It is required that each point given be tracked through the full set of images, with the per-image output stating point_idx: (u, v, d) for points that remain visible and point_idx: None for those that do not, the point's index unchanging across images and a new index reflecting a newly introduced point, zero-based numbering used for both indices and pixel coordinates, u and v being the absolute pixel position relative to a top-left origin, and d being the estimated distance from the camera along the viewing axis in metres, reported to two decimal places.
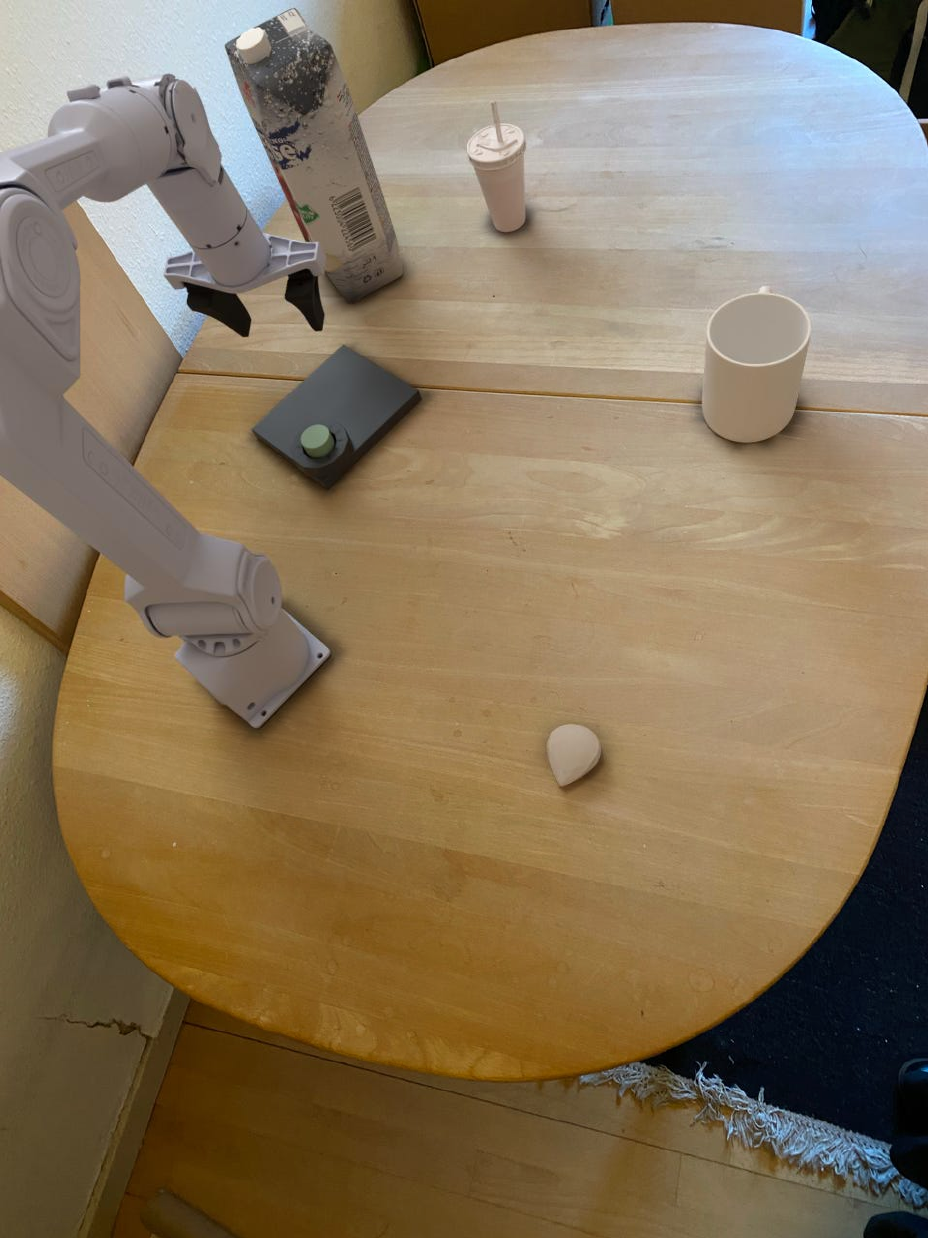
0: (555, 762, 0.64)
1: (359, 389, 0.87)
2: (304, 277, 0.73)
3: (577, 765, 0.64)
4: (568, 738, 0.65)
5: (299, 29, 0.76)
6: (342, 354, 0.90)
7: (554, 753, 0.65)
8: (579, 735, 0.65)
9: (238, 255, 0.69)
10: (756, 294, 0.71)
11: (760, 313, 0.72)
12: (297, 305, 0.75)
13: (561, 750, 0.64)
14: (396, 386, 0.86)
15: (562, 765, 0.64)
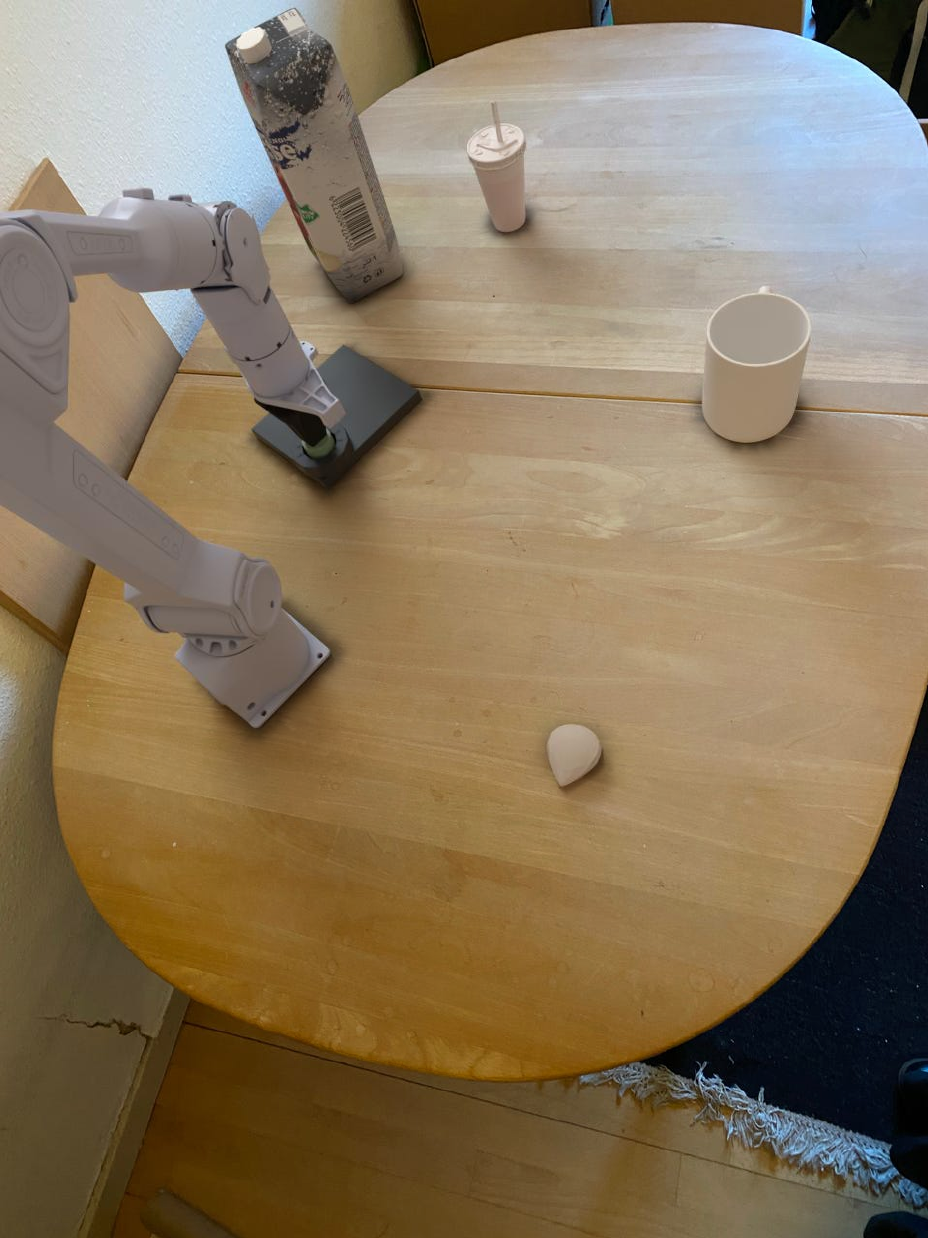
0: (555, 762, 0.64)
1: (359, 389, 0.87)
2: None
3: (577, 765, 0.64)
4: (568, 738, 0.65)
5: (299, 29, 0.76)
6: (342, 354, 0.90)
7: (554, 753, 0.65)
8: (579, 735, 0.65)
9: (258, 374, 0.71)
10: (756, 294, 0.71)
11: (760, 313, 0.72)
12: None
13: (561, 750, 0.64)
14: (396, 386, 0.86)
15: (562, 765, 0.64)
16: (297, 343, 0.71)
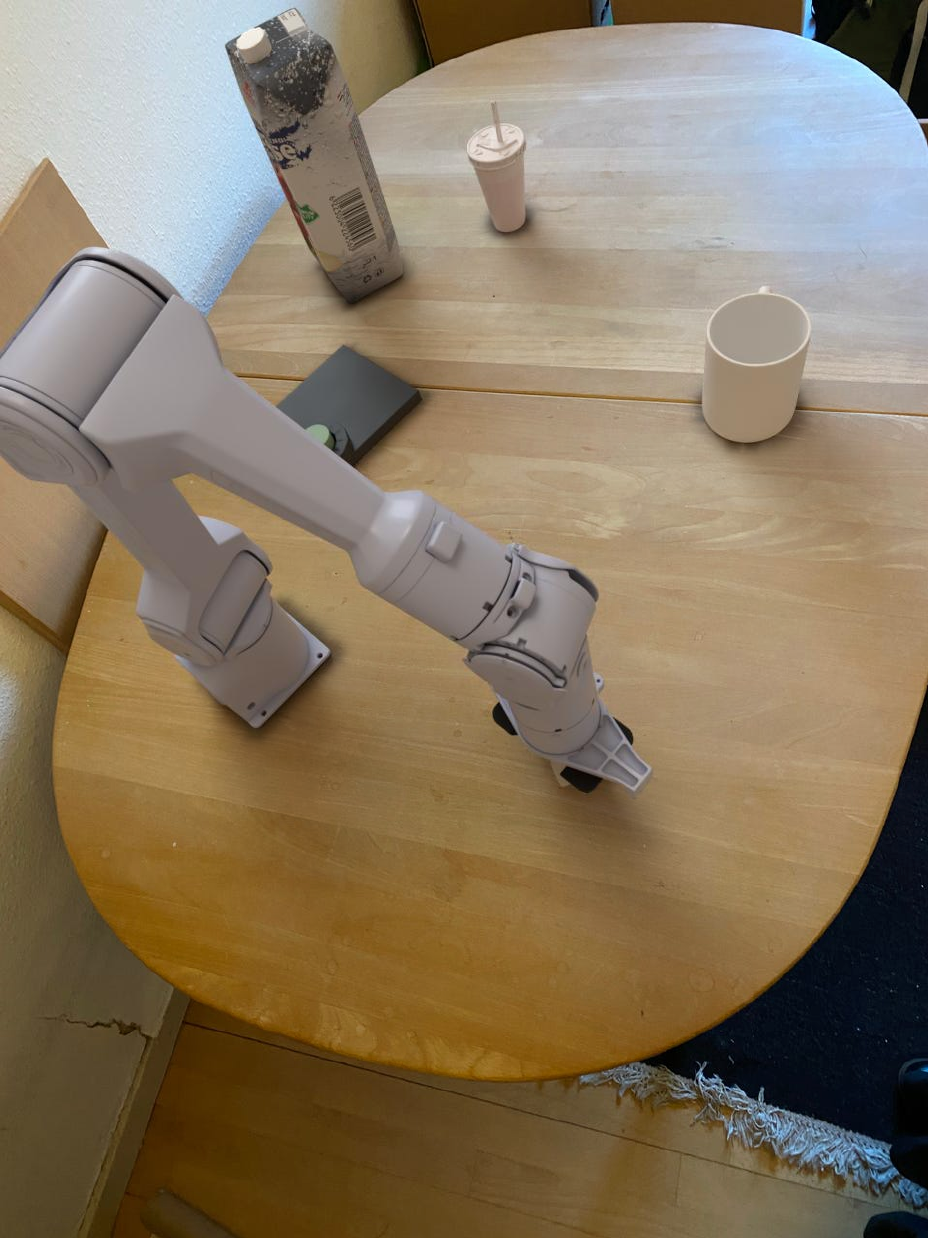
0: (556, 763, 0.64)
1: (359, 389, 0.87)
2: None
3: None
4: None
5: (299, 29, 0.76)
6: (342, 354, 0.90)
7: None
8: None
9: (550, 741, 0.53)
10: (756, 294, 0.71)
11: (760, 313, 0.72)
12: None
13: None
14: (396, 386, 0.86)
15: (563, 766, 0.64)
16: None
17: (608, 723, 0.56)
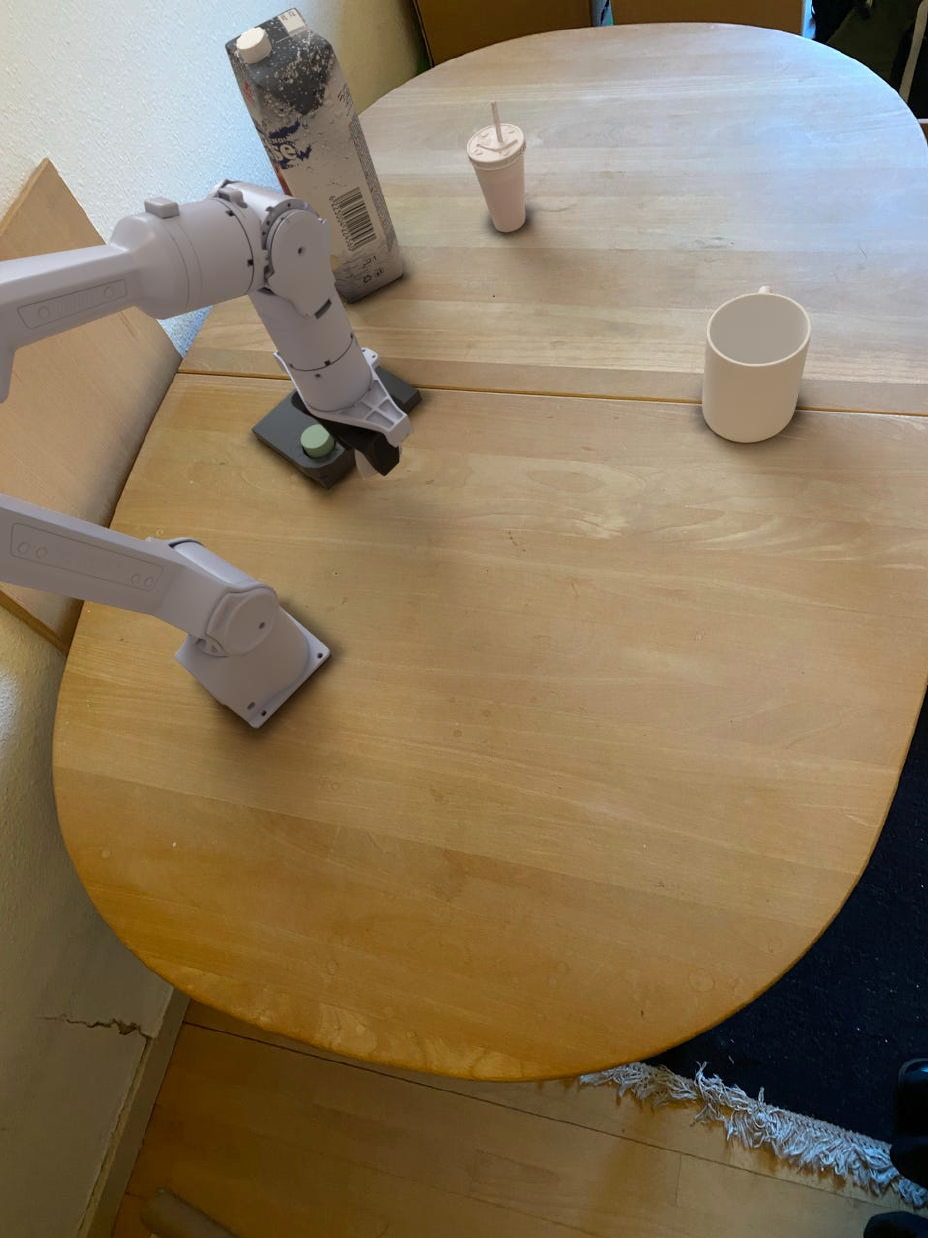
0: (359, 458, 0.73)
1: None
2: None
3: None
4: None
5: (299, 29, 0.76)
6: None
7: None
8: None
9: (317, 386, 0.62)
10: (756, 294, 0.71)
11: (760, 313, 0.72)
12: None
13: None
14: (396, 386, 0.86)
15: (364, 460, 0.73)
16: (360, 350, 0.63)
17: (378, 388, 0.65)
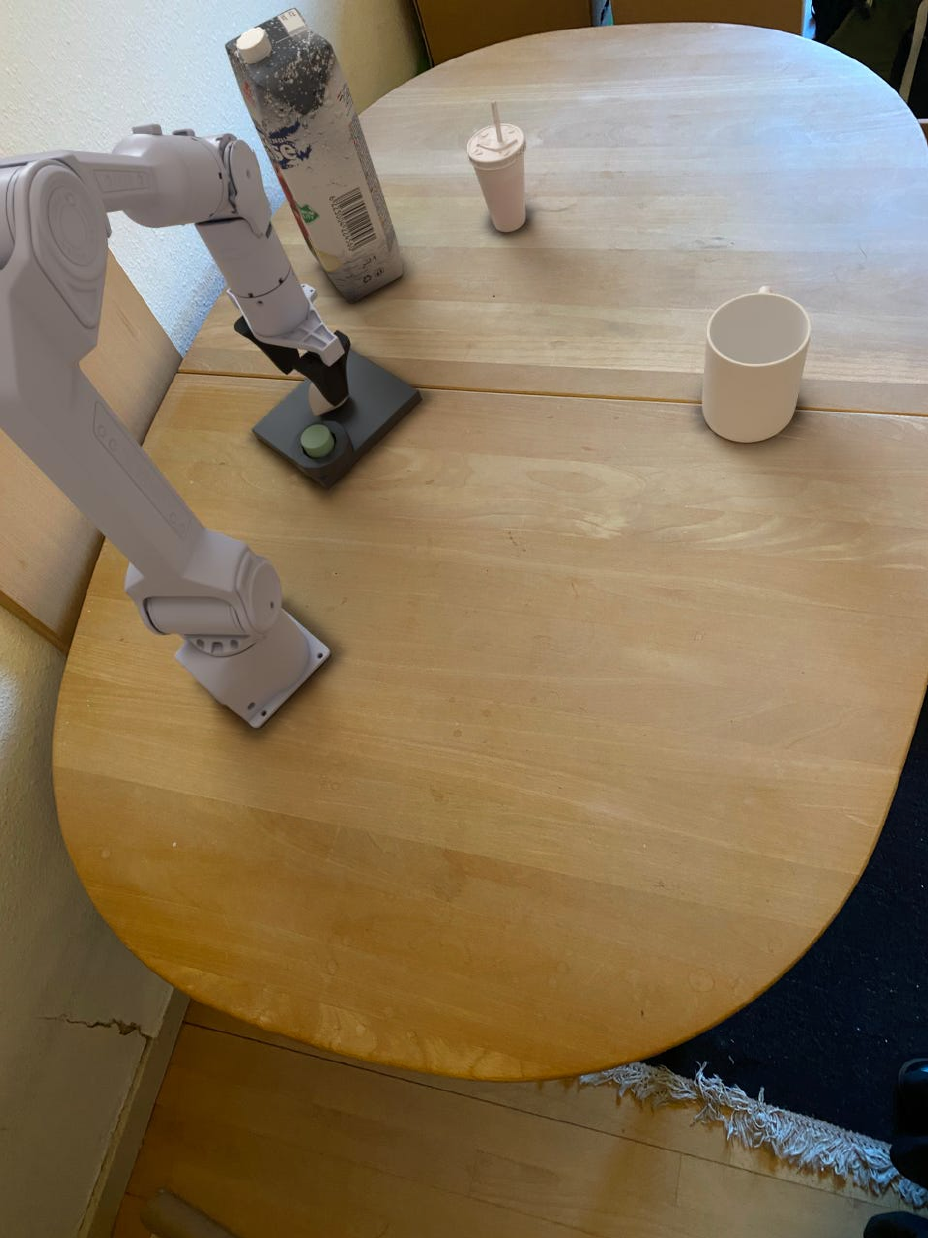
0: (312, 399, 0.86)
1: (359, 389, 0.87)
2: (318, 358, 0.76)
3: None
4: None
5: (299, 29, 0.76)
6: None
7: (311, 393, 0.86)
8: None
9: (260, 312, 0.73)
10: (756, 294, 0.71)
11: (760, 313, 0.72)
12: None
13: (316, 389, 0.85)
14: (396, 386, 0.86)
15: (316, 399, 0.85)
16: (297, 282, 0.74)
17: (315, 316, 0.76)
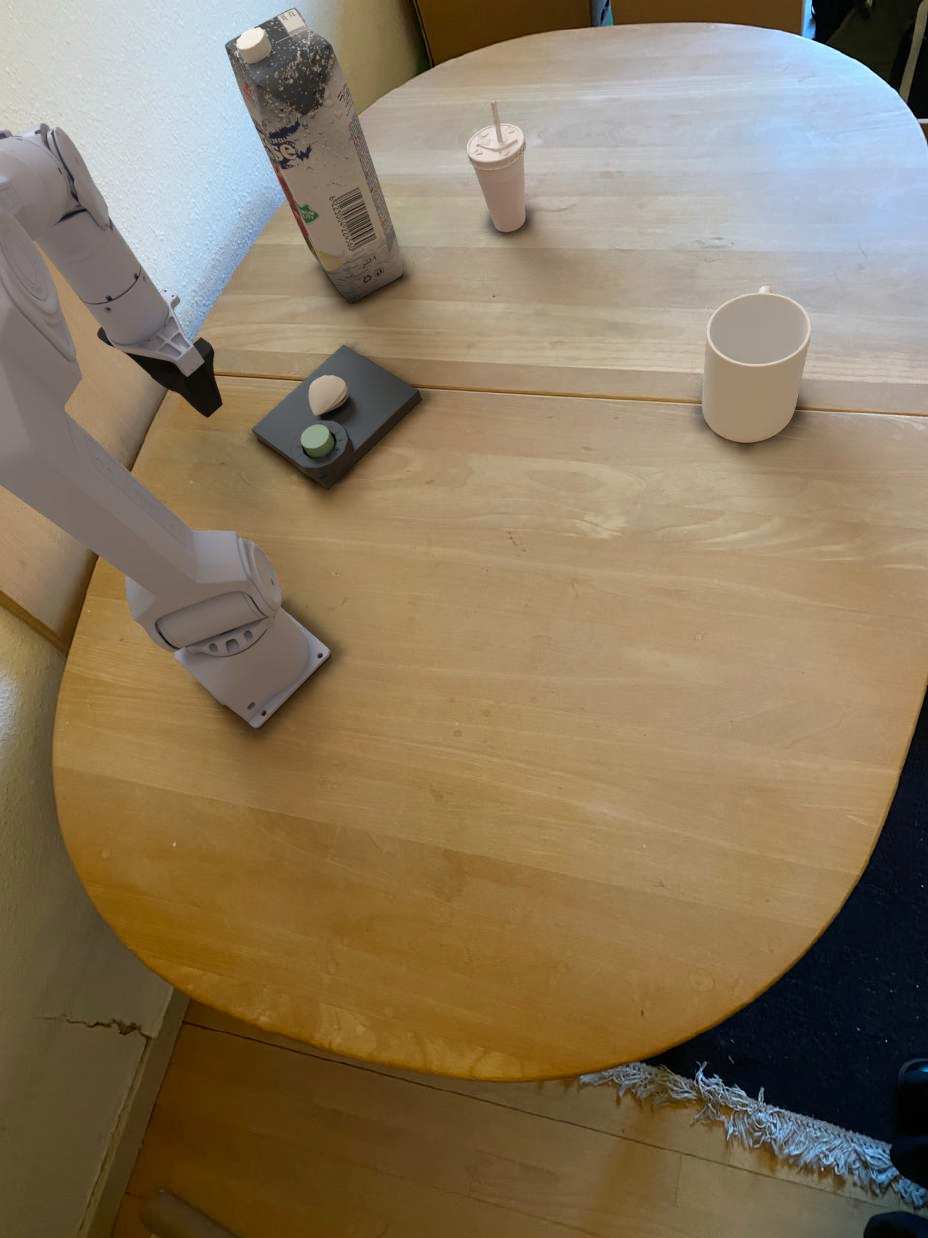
0: (312, 399, 0.86)
1: (359, 389, 0.87)
2: (178, 368, 0.71)
3: (326, 398, 0.85)
4: (322, 381, 0.86)
5: (299, 29, 0.76)
6: (342, 354, 0.90)
7: (311, 393, 0.86)
8: (330, 378, 0.86)
9: (110, 319, 0.68)
10: (756, 294, 0.71)
11: (760, 313, 0.72)
12: None
13: (316, 389, 0.85)
14: (396, 386, 0.86)
15: (316, 399, 0.85)
16: (151, 287, 0.69)
17: (174, 323, 0.71)
